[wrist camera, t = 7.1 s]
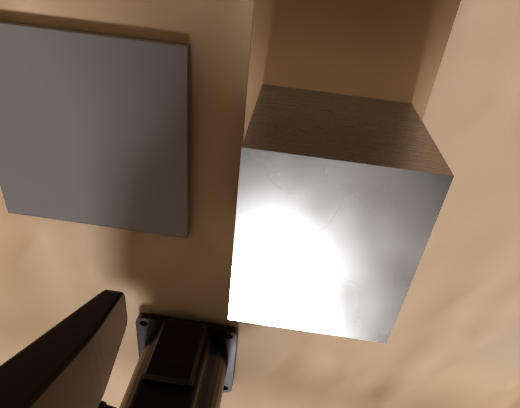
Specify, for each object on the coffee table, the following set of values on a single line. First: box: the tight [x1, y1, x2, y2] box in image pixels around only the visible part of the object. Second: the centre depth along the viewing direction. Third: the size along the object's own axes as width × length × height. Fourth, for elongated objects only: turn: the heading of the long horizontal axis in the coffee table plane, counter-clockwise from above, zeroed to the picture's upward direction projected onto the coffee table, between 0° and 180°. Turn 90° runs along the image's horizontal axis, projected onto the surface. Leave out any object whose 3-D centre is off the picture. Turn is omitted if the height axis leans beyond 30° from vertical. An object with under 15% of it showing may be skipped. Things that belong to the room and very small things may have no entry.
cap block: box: [228, 84, 454, 343], centre depth 14 cm, size 6×5×5 cm
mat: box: [0, 21, 189, 238], centre depth 20 cm, size 10×10×1 cm
